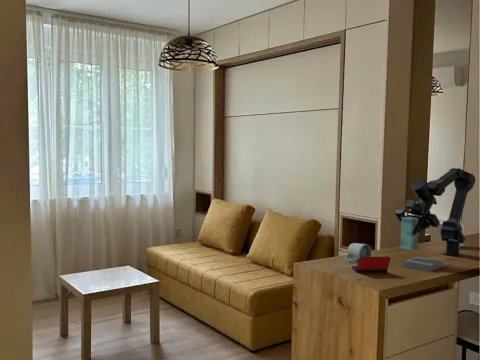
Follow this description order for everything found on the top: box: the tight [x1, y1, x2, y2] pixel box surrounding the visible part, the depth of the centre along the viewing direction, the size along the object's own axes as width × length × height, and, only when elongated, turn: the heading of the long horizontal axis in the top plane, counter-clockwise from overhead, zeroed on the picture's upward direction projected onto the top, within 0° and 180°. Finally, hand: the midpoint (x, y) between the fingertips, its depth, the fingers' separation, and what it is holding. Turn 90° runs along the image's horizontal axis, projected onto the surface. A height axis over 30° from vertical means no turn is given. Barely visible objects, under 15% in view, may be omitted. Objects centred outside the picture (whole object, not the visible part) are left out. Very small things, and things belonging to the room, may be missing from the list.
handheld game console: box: [351, 256, 391, 274], centre depth 183 cm, size 12×11×7 cm
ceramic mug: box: [344, 242, 372, 263], centre depth 201 cm, size 11×8×8 cm
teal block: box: [399, 217, 420, 251], centre depth 195 cm, size 5×5×13 cm
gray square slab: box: [403, 256, 442, 272], centre depth 191 cm, size 11×11×2 cm
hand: (407, 233), depth 194 cm, fingers closed on teal block, 5 cm apart
